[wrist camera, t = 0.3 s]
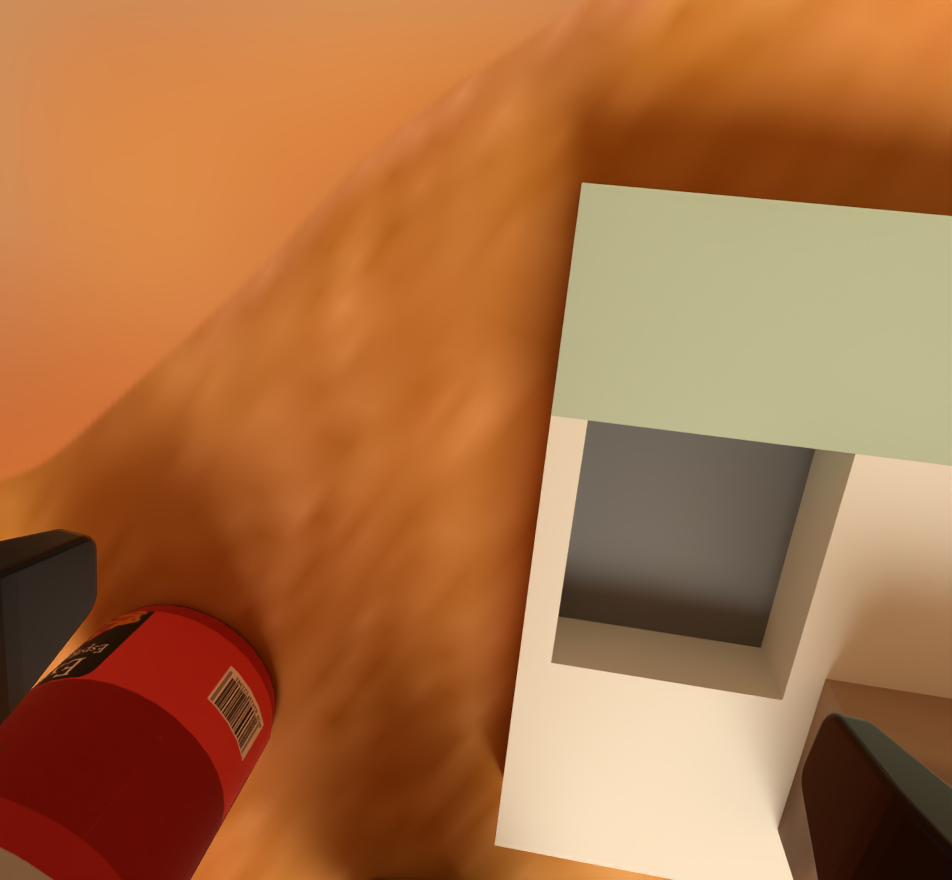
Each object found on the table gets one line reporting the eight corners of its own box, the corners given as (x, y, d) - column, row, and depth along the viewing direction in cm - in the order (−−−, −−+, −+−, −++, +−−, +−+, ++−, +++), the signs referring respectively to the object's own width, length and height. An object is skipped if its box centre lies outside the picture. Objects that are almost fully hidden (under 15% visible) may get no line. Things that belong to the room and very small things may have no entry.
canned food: (131, 563, 26) (-159, 798, 16) (314, 665, 26) (147, 959, 16) (74, 697, 29) (-205, 973, 18) (241, 788, 29) (59, 1108, 19)
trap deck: (1165, 897, 25) (1241, 988, 22) (503, 778, 27) (494, 845, 24) (1543, 273, 17) (1733, 287, 14) (581, 185, 19) (581, 182, 17)
